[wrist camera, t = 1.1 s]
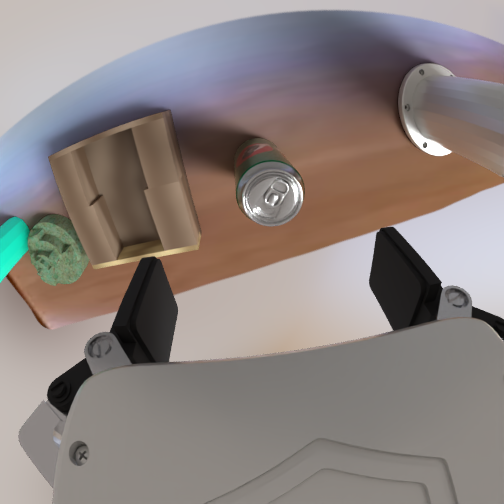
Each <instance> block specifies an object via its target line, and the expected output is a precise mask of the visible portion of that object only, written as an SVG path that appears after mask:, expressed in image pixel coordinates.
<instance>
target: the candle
mask: <svg viewBox="0 0 504 504" xmlns="http://www.w3.org/2000/svg"><path fill="white" fill-rule="evenodd" d="M29 233H30V230H29V228H28V226H27V225H26V224H25V222H24V221H23V220H22V219H20V218H18V217H12V218H10V219H8V220H7V221H6V222H5V223H4V224H3V225H2V226H0V283H1V281H2V280H3V279H4V278H5V276H6V275H7V274H8V273H9V271H10V270H11V269H12V268H13V267H14V265H15V264H16V263H17V262H18V261H19V260H20V259H21V257H22V256H23V255H24V254H25V253H26V252H27V251H28V236H29Z"/></svg>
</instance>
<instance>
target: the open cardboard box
mask: <svg viewBox="0 0 504 504" xmlns="http://www.w3.org/2000/svg"><path fill="white" fill-rule="evenodd" d="M48 158H49V161H50V165H51V168H52V171H53V174H54V177H55V180H56V182H57V185H58V188H59V191H60V194H61V196H62V199H63V201H64V204H65V207H66V209H67V212H68V214H69V216H70V219H71V221H72V224H73V226H74V228H75V230H76V233H77V235H78V237H79V239H80V242H81V244H82V246H83V248H84V250H85V252H86V254H87V256H88V258H89V260H90V262H91V264H92V266H93V268H94V269H98V268H103V267H108V266H113V265H119V264H124V263H129V262H134V261H139V260H141V259H142V258H144V257H152V256H155V257H160V256H165V255H171V254H176V253H181V252H187V251H192V250H197V249H199V244H200V238H201V228H200V225H199V221H198V217H197V214H196V210H195V206H194V203H193V199H192V195H191V191H190V188H189V184H188V180H187V176H186V172H185V168H184V164H183V160H182V156H181V152H180V148H179V144H178V140H177V136H176V131H175V127H174V123H173V119H172V114H171V110H167V111H164V112H160V113H157V114H153V115H150V116H147V117H144V118H141V119H138V120H135V121H132V122H129V123H126V124H123V125H120V126H117V127H115V128H112V129H109V130H107V131H104V132H102V133H99V134H97V135H94V136H92V137H90V138H87V139H85V140H82V141H80V142H78V143H76V144H74V145H71V146H69V147H67V148H65V149H63V150H61V151H59V152H57V153H55V154H53V155H51V156H49V157H48Z"/></svg>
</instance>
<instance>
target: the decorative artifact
mask: <svg viewBox="0 0 504 504" xmlns="http://www.w3.org/2000/svg"><path fill="white" fill-rule="evenodd" d="M28 250H29V253H30V256H31V263H32V264H33V265H34V266H35V268H36V269H37V271H38V273H37V274H38V275H40V276H41V279H42V280H43V281H45V282H46V283H48V284H50V285H53V286H56V285H57V283H61V284H70V283H73V282H75V281H76V280H78V279H79V277H80V276H81V274H82V273H83V271H84V270H85V268H86V266H87V265H88V262H89V258H88V256H87V254H86V252H85V250H84V248H83V246H82V244H81V242H80V239H79V237H78V235H77V233H76V230H75V228H74V226H73V224H72V221H71V220H70V219H68V218H66V217H64V216H62V215H58V214H51V215H47V216H45V217H44V218H42V219H41V220H40V221H39V222H38V223H37V224H36V225H35V226H34V227H33V228H32V229H31V231H30V233H29V236H28Z"/></svg>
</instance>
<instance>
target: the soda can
mask: <svg viewBox="0 0 504 504" xmlns="http://www.w3.org/2000/svg"><path fill="white" fill-rule="evenodd" d="M234 169H235V186H236V199H237V203H238V205H239V208H240V209H241V211H242V212H243V213H244V214H245V215H246V216H247V217H248V218H249V219H251V220H253V221H254V222H256V223H258V224H261V225H264V226H278V225H282V224H284V223H287V222H288V221H290V220H291V219H293V218H294V217H295V216H296V214H297V213H298V212H299V210H300V208H301V206H302V202H303V199H304V194H305V187H304V183H303V180H302V178H301V176H300V174H299V173H298V172H297V170H296V169H295V168H294V167H293V166H292V164H291V163H290V162H289V161H288V160H287V158H286V157H285V156H284V155H283V154H282V153H281V151H280V150H279V149H278V148H277V147H276V146H275V145H274V144H273V143H272V142H270V141H269V140H266V139H262V138H254V139H250V140H247V141H246V142H244V143H243V144H242V145H240V147H239V148H238V149H237V151H236V153H235V157H234Z"/></svg>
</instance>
